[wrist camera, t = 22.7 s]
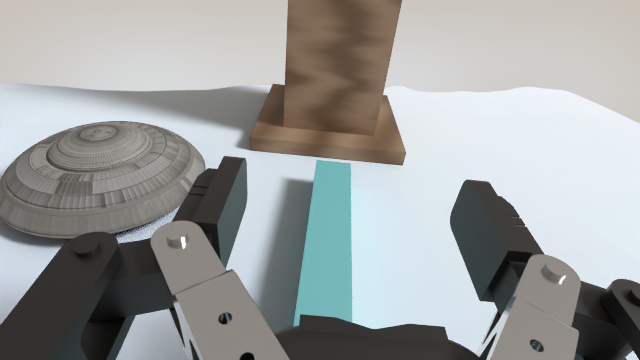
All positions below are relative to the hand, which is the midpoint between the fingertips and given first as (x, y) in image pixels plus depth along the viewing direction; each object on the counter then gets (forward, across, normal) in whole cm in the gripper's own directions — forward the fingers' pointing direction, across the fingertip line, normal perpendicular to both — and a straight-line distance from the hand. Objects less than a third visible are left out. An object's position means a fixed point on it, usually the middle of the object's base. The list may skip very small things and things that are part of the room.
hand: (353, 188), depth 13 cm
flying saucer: (+13, -18, -12) cm, 25 cm away
